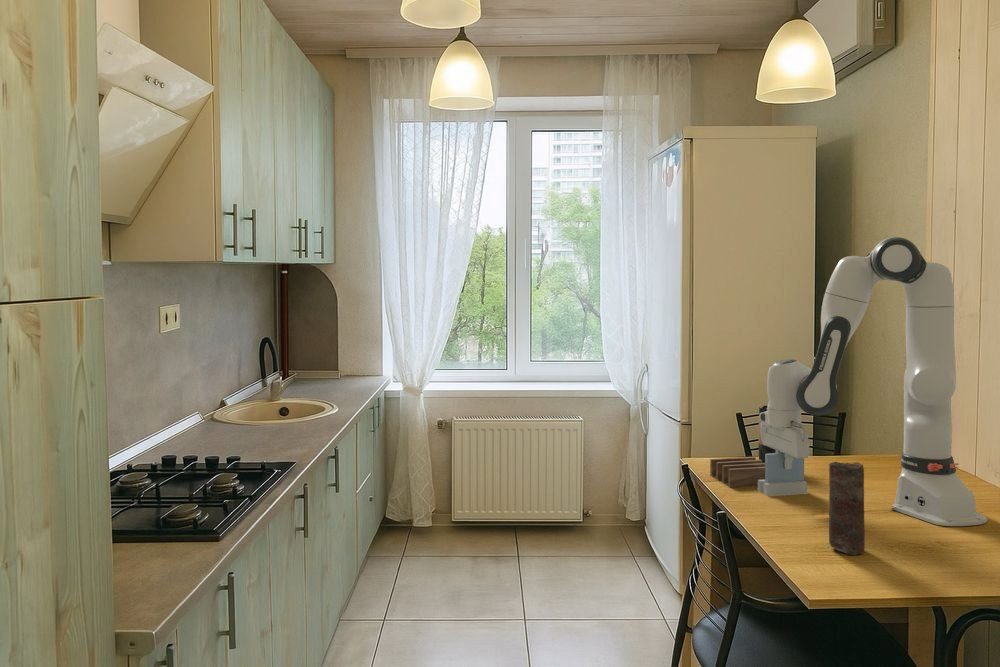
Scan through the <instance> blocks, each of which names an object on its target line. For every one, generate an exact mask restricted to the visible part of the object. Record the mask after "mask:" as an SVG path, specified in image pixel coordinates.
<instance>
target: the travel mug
mask: <svg viewBox="0 0 1000 667" xmlns="http://www.w3.org/2000/svg"><path fill="white" fill-rule="evenodd" d="M765 411H767V405H762V407H760V406H759V408H758V413H759V414H760V413H762V412H765ZM759 414H758V415H759ZM761 422H762V421H760V419H759V418H758V460H762V463H765V454H770V453H776V450H775V449H773V448H770V447H768V446H765V445H763V443H762V440H761V427H760V426H761Z"/></svg>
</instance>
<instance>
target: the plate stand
mask: <svg viewBox="0 0 1000 667" xmlns="http://www.w3.org/2000/svg"><path fill="white" fill-rule="evenodd" d="M756 491H758V492H759V493H761V494H763V495H765V496H767V497H780V496H781V497H782V496H795V495H796V496H797V495H809V492H808V481H805V480H804V481H788V482H772V483H765V479H764V480H758V486H757V488H756Z"/></svg>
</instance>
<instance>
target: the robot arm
mask: <svg viewBox="0 0 1000 667" xmlns="http://www.w3.org/2000/svg"><path fill="white" fill-rule="evenodd" d="M885 280H886V281H887V280H888V281H891V282H892V281H896V282H900V283H901V284H902V285H903V286H904V291H905V355H906V356H905V358H906V361H905V362H906V363H905V364H906V368H905V371H904V374H903V451H902V452H901V456H900V466H901V468H902V469H901V472H900V475H899V476H898V478H897V485H896V493H895V501H894V503H893V504H892V505H891V510H893V511H896V512H898V513H901V514H905V515H908V516H909V517H910V516H911V517H912V518H916V519H919V520H923V521H925V522H928V523H931V524H934V525H936V526H944V527H966V526H970V527H971V526H977V525H983V524H987V523H988V518H987V517H986V516H984V515H982V514H981V513H980V512H978V511H977V505H976V504H977V503H976V498H975V495H974V494H973V491H972V490H971V489H969V488H968V487H967V485H966V484H965V483H964V482H963V480H962V479H961V478H960V477H959V476H958V474H957V473H956V472H957V469H959V463H958V462H957V463H955V461H954V458H953V456H952V442H953V441H952V439H953V437H952V436H953V422H952V397H953V396H954V395H955V392H956V388H957V374H956V373H957V372H956V371H957V369H956V367H957V366H956V351H955V350H956V349H955V348H956V347H955V345H956V344H955V292H954V291H955V290H954V283H953V277H952V274H951V270H950V269H949V268H948V267H947V266H946V265H944V264H942V263H938V262H933V261H932V262H930V261H929V262H927V261H926V259H925V258H924V256H923V255H922V253H921V251H920V250H919V248H918V247H917V245H915V244H914V243H913V242H912V241H911V240H909V239H908V238H904V237H899V236H898V237H897V236H893V237H892V236H891V237H889V238H885V239H883V240H881V241H880V242H879V243H878V244H876V246H875V247H874V248H873V249H872V250H871V251H870V252H869V253H868V254H867V255H866V256H859V255H849V256H845V257H843V258H841V259H840V260H839V261H838V263H837V264H836V266H835V268H834V269H833V271H832V273H831V276H830V278H829V281H828V283H827V286H826V289H825V292H824V294H823V299H822V305H821V312H820V340H819V344H818V347H817V351H816V355H815V359H814V360H813V364H812V367H811V368H810V367H808V366H806V365H804V364H802V363H801V362H799V361H798V359H783V360H779V361H775V362H774V363H771V365H770V366H769V367H768V371H767V378H766V379H767V380H766V393H767V398H768V402H767V405H766V406H767V411H765V412H762V413H760V414H758V420H759V419H760V421H762V422H761V426H760V427H761V440H762V443H763V445H765V446H768V447H770V448H773V449H775V450H776V453H784V456H785V457H786V458H785V462H783V468H785V469H791V468H792V461H793V459H794V458H797V459H801V458H804V459H808V458H809V456H810V442H809V440H810V439H809V436H808V432H807V431H806V429H805V428H804V426H803V424H802V411H803V412H805V413H806V414H808V415H811V416H824V415H825V416H826V415H827V414H829V413H831V412H832V411H833V410H834V409H835V408H836V406H837V404H838V398H839V396H838V384H837V378H838V373H839V370H840V367H841V363H842V359H843V356H844V353H845V350H846V347H847V346H848V343H849V342H850V340H851V339H852V336H853V335H854V334H855V332H856V331H857V329H858V327H859V326H860V324H861V322H862V320H863V318H864V316H865V313H866V311H867V309H868V306H869V302H870V299H871V295H872V293H873V290H874V289H875V287H876V285H877V284H879V282H880V281H885Z"/></svg>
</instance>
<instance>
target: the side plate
mask: <svg viewBox="0 0 1000 667" xmlns="http://www.w3.org/2000/svg"><path fill="white" fill-rule="evenodd" d="M785 458H786V457H785V456H784V453H770V454H765V483H772V482H788V481H805V458H801V459H797V458H794V459H793V461H792V468H791V469H785V468H783V462H785Z"/></svg>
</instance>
